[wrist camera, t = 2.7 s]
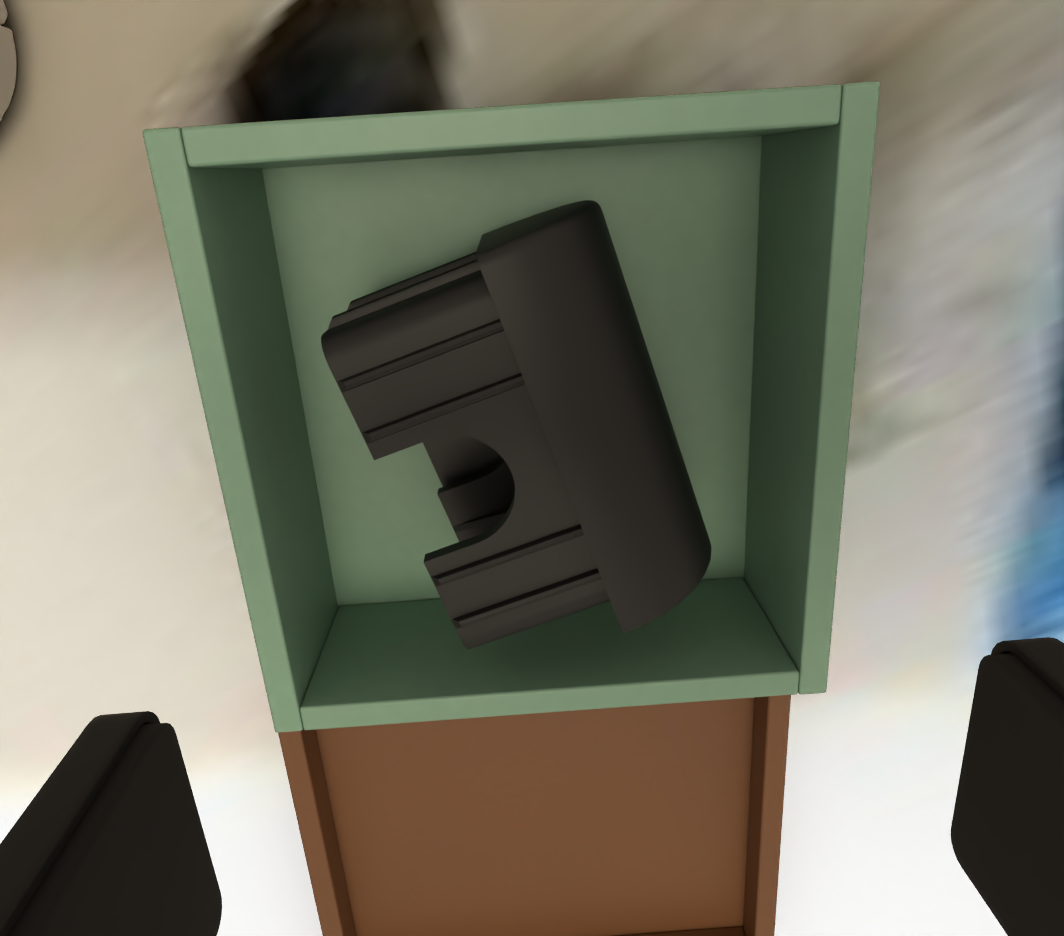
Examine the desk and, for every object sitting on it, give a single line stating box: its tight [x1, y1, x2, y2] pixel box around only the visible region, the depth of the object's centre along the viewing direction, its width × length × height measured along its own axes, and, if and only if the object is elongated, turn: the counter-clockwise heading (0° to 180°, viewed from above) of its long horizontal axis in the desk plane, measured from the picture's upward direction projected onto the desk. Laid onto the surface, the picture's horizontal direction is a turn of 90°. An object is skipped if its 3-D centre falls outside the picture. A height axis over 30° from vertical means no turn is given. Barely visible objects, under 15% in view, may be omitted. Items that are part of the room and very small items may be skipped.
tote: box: [143, 81, 880, 733], centre depth 22 cm, size 16×16×6 cm
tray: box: [278, 695, 791, 936], centre depth 30 cm, size 18×15×2 cm
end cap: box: [321, 200, 712, 649], centre depth 21 cm, size 10×7×7 cm
